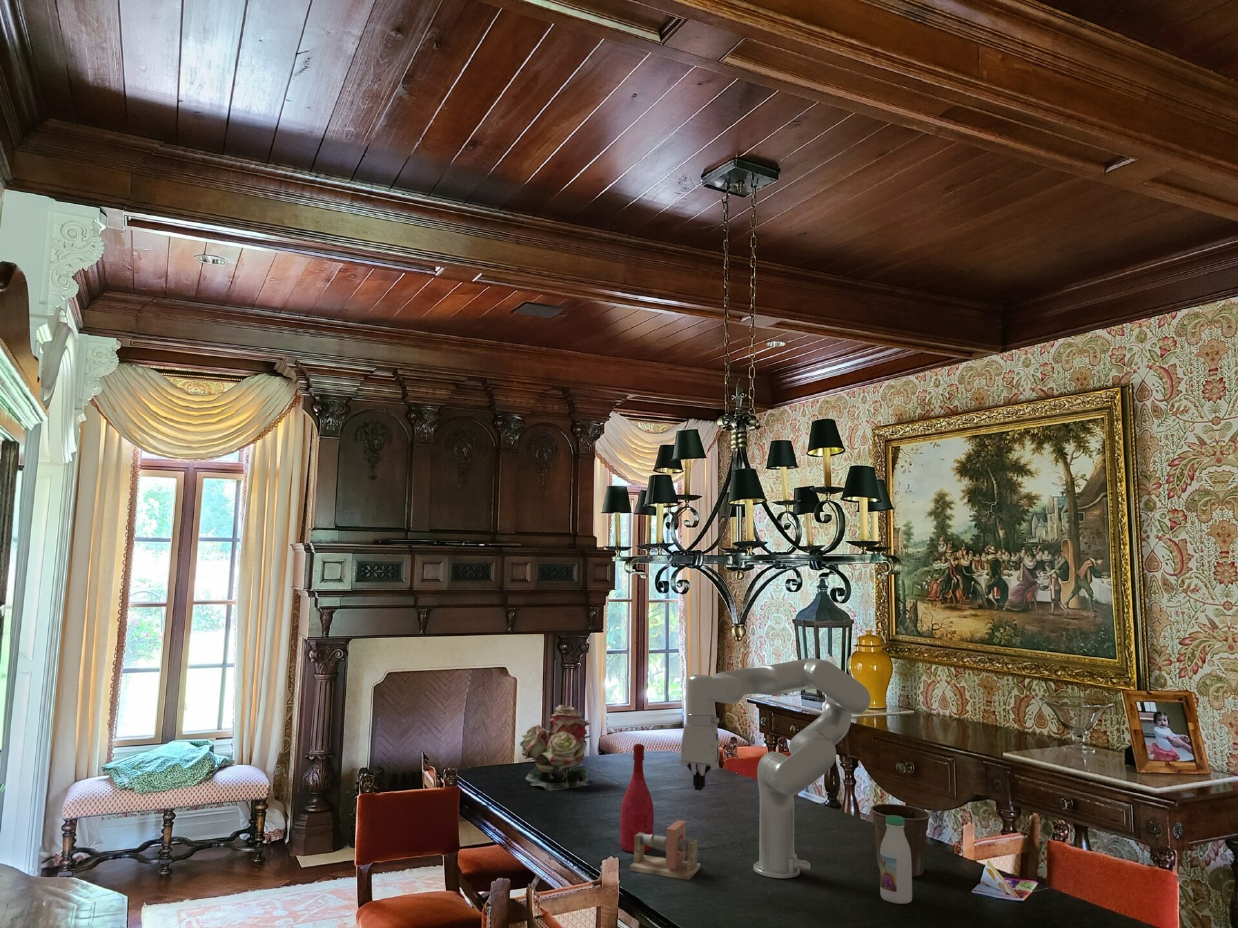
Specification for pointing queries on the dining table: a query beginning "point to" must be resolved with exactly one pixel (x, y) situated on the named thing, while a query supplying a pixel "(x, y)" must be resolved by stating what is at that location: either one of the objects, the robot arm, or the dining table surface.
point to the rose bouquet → (557, 750)
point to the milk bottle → (895, 863)
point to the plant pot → (913, 830)
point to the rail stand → (659, 864)
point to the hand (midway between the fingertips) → (699, 789)
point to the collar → (675, 844)
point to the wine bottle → (636, 806)
